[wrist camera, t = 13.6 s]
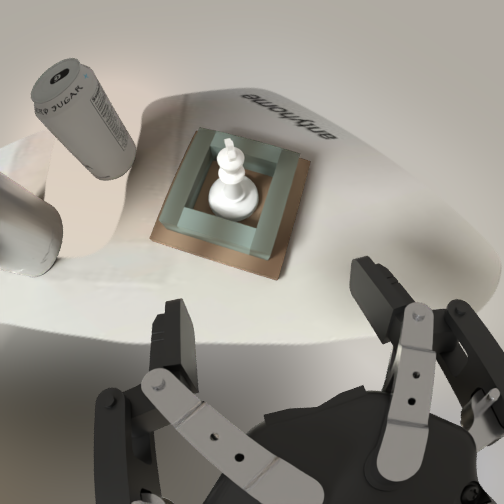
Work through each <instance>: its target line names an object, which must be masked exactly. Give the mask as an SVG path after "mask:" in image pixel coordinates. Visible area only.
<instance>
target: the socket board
mask: <svg viewBox="0 0 504 504" xmlns="http://www.w3.org/2000/svg"><path fill="white" fill-rule="evenodd" d="M228 138H230V139H231V140H232V141H233V144H234V147H236V148H238V149H240V150H241V151H242V152H243V154H244V163H243V165H242V166H243V167H244V170H245V176H246V177H247V178H249V179H250V180H251V181H252V182H253V183H254V184H255V186H256V188H257V191H258V196H259V201H258V205H257V208H256V210H255V211H254V212H253V213H252V215H250V216H249V217H248V218H246V219H244V220H241V221H237V222H233V221H230V220H227V219H223V218H220V217H217V216H216V215H215V214H214V213H213V212H212V210H211V208H210V206H209V200H208V198H209V191H210V188H211V186H212V185H213V183H214V182H215V181H216V180H217V179H219V174H218V172H219V169H220V166H219V164H218V162H217V156H218V154H219V152H220V151H221V150H222V149H224V148H226V146H225V142H224V139H228ZM299 157H300V154H299V153H296V152H293V151H290V150H286V149H283V148H280V147H276V146H273V145H269V144H266V143H262V142H259V141H255V140H251V139H247V138H243V137H239V136H235V135H231V134H227V133H223V132H219V131H214V130H210V129H205V128H201V127H200V128H199V130H198V131H196V132H195V134H194V136H193V138H192V140H191V142H190V144H189V146H188V149H187V151H186V153H185V155H184V157H183V159H182V161H181V164H180V166H179V168H178V170H177V172H176V175H175V177H174V179H173V182H172V184H171V186H170V189H169V191H168V193H167V196H166V198H165V201H164V203H163V205H162V208H161V210H160V213H159V215H158V218H157V220H156V223H155V226H154V228H153V231H152V233H151V236H150V239H151V240H152V241H154V242H157V243H160V244H163V245H166V246H169V247H172V248H175V249H178V250H182V251H185V252H188V253H191V254H194V255H197V256H200V257H203V258H206V259H209V260H213V261H216V262H219V263H222V264H225V265H228V266H232V267H235V268H238V269H241V270H244V271H247V272H251V273H254V274H257V275H260V276H264V277H267V278H270V279H273V280H278V277H279V274H280V271H281V267H282V264H283V260H284V257H285V253H286V250H287V246H288V243H289V239H290V236H291V232H292V229H293V225H294V222H295V218H296V214H297V211H298V207H299V204H300V200H301V196H302V192H303V189H304V185H305V181H306V177H307V174H308V170H309V166H310V162H311V161H308V160H305V159H302V158H299Z"/></svg>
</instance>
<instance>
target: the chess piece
mask: <svg viewBox="0 0 504 504" xmlns="http://www.w3.org/2000/svg"><path fill="white" fill-rule="evenodd" d="M224 142H225V146H226V148H224V149H222V150H221V151H220V152H219V154H218V156H217V162H218V164H219V166H220V169H219V172H218V174H219V179H217V180H216V181H215V182H214V183H213V185H212V186H211V188H210V191H209V198H208V200H209V206H210V208H211V210H212V212H213V213H214V214H215V215H216V216H217V217H220V218H223V219H227V220H230V221H233V222H237V221H241V220H244V219H246V218H248V217H249V216H250V215H252V213H253V212H254V211H255V210H256V208H257V205H258V201H259V196H258V191H257V188H256V186H255V184H254V183H253V182H252V181H251V180H250V179H249V178H247V177H246V176H245V170H244V167H243V166H242V165H243V163H244V154H243V152H242V151H241V150H240V149H238V148H236V147H234V144H233V141H232V140H231V139H230V138H228V139H224Z"/></svg>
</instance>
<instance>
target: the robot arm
mask: <svg viewBox="0 0 504 504" xmlns="http://www.w3.org/2000/svg"><path fill="white" fill-rule="evenodd" d="M62 238H63V225H62V220H61V217H60V215H59V213H58V211H57V210H56V209H55V208H54V207H53V206H52V205H50V204H48V203H47V202H45V201H44V200H42V199H40V198H39V197H37V196H36V195H34V194H33V193H31V192H30V191H28V190H27V189H25V188H24V187H22V186H21V185H19V184H18V183H16V182H15V181H13V180H12V179H10V178H9V177H7V176H6V175H4V174H3V173H1V172H0V270H3V271H7V272H11V273H15V274H20V275H24V276H29V277H37V276H40V275H42V274H44V273H45V272H46V271H48V270H49V268H50V267H51V266H52V265H53V263H54V262H55V260H56V258H57V256H58V253H59V251H60V248H61V244H62ZM350 291H351V294H352V296H353V298H354V299H355V301H356V302H357V304H358V305H359V307H360V308H361V310H362V312H363V313H364V315H365V316H366V318H367V320H368V321H369V323H370V324H371V326H372V328H373V329H374V331H375V333H376V334H377V336H378V338H379V339H380V341H381V343H382V344H385V343H388V342H390V341H391V343H392V345H393V346H392V349H391V355H390V359H389V365H388V369H387V374H386V379H385V382H384V385H383V388H382V391H366V390H365V388H364V386H363V385H362V386H359V387H356V388H354V389H351V390H348V391H345V392H342V393H340V394H338V395H337V396H335V397H333V398H332V399H330V400H329V401H327V402H325V403H323V404H322V405H320V406H318V407H312V408H293V409H286V410H282V411H278V412H274V413H269V414H265V415H264V419H265V421H263V422H262V423H259V424H258V425H256V426H255V427H254V428H252V429H251V430H250V431H249V432H248V433H247V434H244V433H243V432H242V431H241V430H239V429H238V428H237V427H235V426H234V425H233V424H232V423H230V422H229V421H228V420H227V419H225V418H224V417H223V416H222V415H221V414H219V413H218V412H217V411H216V410H215V409H213V408H212V407H211V406H210V405H209V404H207V403H206V402H204V401H203V402H202V401H201V400H200V399H199V398H197V397H196V396H195V395H194V393H198V392H199V390H198V379H197V365H196V351H195V335H194V328H193V324H192V321H191V318H190V316H189V313H188V311H187V309H186V306H185V304H184V301H183V299H182V298H181V299H176V300H171V301H166V303H165V313H164V314H159V315H157V317H156V318H155V320H154V322H153V324H152V336H151V351H150V367H149V372H148V373H147V374H146V375H145V376H144V378H143V380H142V383H141V384H140V385H138V386H136V387H134V388H132V389H129V390H127V391H125V392H121V391H120V390H119V389H117V388H108V389H105V390H104V391H102V392H101V393H100V394H99V396H98V397H97V400H96V406H95V423H94V481H95V498H96V504H174V503H173V502H172V501H170V500H169V499H166V498H163V497H162V495H161V489H160V483H159V475H158V467H157V460H156V451H155V440H154V431H155V430H157V429H160V428H162V427H164V426H167V425H169V424H172V425H173V426H174V428H175V429H176V430H177V431H178V432H179V433H180V434H181V435H182V436H183V437H184V438H185V439H186V440H187V441H188V442H189V443H190V444H191V445H192V446H194V447H195V448H196V449H197V450H198V451H199V452H200V453H201V454H202V455H203V456H204V457H205V458H207V459H208V460H209V461H210V462H211V463H212V464H213V465H214V466H216V467H217V468H218V469H219V470H220V471H221V472H222V474H221V476H220V477H219V479H218V480H217V482H216V484H215V485H214V487H213V488H212V490H211V492H210V493H209V495H208V496H207V498H206V500H205V501H204V502H203V504H496V502H495V501H494V500H493V499H492V498H491V497H490V496H489V495H488V494H487V493H486V492H485V491H484V490H483V488H482V487H481V486H480V484H479V482H478V478H477V469H476V457H477V452H478V451H480V450H482V449H483V448H484V447H486V446H490V445H492V444H493V443H495V442H496V441H498V440H499V439H501V438H502V437H503V436H504V352H503V350H502V349H501V348H500V346H499V345H498V343H497V342H496V340H495V339H494V337H493V336H492V334H491V333H490V332H489V330H488V329H487V327H486V326H485V325H484V323H483V322H482V321H481V319H480V318H479V317H478V315H477V314H476V313H475V311H474V310H473V309H472V308H471V306H470V305H469V304H468V303H466V302H465V301H463V300H458V299H456V300H452V301H451V302H449V304H448V306H447V309H438V310H431V309H430V307H428V306H427V305H425V304H423V303H419V302H415V301H414V300H413V299H412V297H411V296H410V295H409V294H408V293H407V291H406V290H405V289H404V288H403V286H402V285H401V284H400V283H398V280H397V279H396V278H395V277H394V276H393V274H392V273H391V272H390V271H389V270H388V269H387V268H386V267H384V266H382V265H381V264H375V263H374V262H373V261H372V260H371V259H370V257H368V256H364V257H360V258H356V259H353V260H352V263H351V274H350ZM459 342H460V343H461V345H462V346H463V348H464V349H465V351H466V353H467V355H468V357H467V355H466V354H465V352H464V351H463V349H462V348H461V346H460V344H459ZM436 360H437V362H438V364H439V365H440V367H441V369H442V371H443V372H444V374H445V376H446V378H447V380H448V381H449V383H450V385H451V387H452V389H453V391H454V393H455V395H456V396H457V398H458V400H459V402H460V404H461V406H462V411H461V421H460V424H461V426H462V427H461V426H458V425H456V424H454V423H452V422H449V421H447V420H445V419H442V418H440V417H438V416H436V415H433V414H431V413H429V412H430V405H431V399H432V391H433V383H434V374H435V362H436Z"/></svg>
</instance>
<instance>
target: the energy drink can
mask: <svg viewBox="0 0 504 504" xmlns="http://www.w3.org/2000/svg"><path fill="white" fill-rule="evenodd" d="M31 99H32V101H33V102H34V108H35V114H36V116H37V117H38V119H39V120H40V121H41V122H42V123H43V124H44V125H45V126H46V127H47V128H48V129H49V130H50V131H51V133H52V134H53V135H54V136H55V137H56V138H57V139H58V140H59V141H60V142H61V143H62V144H63V145H64V146H65V147H66V148H67V149H68V150H69V151H70V152H71V153H72V154H73V155H74V156H75V157H76V158H77V159H78V160H79V161H80V162H81V163H82V164H83V165H84V166H85V167H86V168H87V169H88V170H89V171H90V172H91V173H92V174H93V175H94V176H95V177H96V178H98V179H100V180H113V179H116V178H119V177H121V176H122V175H124V174H125V173H126V172H127V171H128V170H129V169H130V167H131V166H132V164H133V161H134V159H135V155H136V146H135V144H134V141H133V140H132V138H131V136H130V135H129V133H128V131H127V130H126V128H125V126H124V125H123V123H122V121H121V120H120V118H119V116H118V115H117V113H116V111H115V109H114V108H113V106H112V104H111V102H110V101H109V99H108V97H107V95H106V94H105V92H104V90H103V88H102V86H101V85H100V83H99V81H98V79H97V78H96V76H95V74H94V72H93V70H92V69H91V68H90V67H88V66H85V65H83V64H80V62H79V61H78V60H77V59H75V58H69V59H65V60H62V61H60V62H58V63H56V64H55V65H53V66H52V67H50V68H49V69H48V70H47V71H46V72H44V73H43V74H42V76H41V77H40V78H39V79H38V80H37V82H36V83H35V85H34V87H33V89H32V92H31Z"/></svg>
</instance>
